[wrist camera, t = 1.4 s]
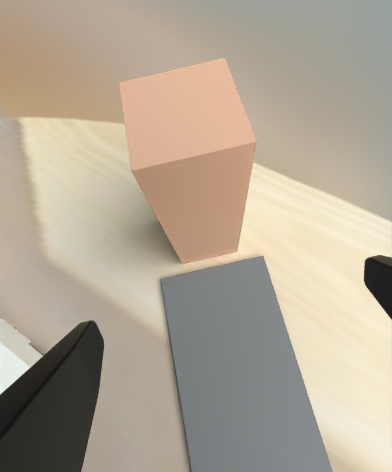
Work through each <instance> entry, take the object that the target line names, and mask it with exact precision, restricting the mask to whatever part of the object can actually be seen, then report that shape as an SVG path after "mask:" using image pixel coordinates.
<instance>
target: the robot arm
mask: <svg viewBox="0 0 392 472" xmlns="http://www.w3.org/2000/svg"><path fill="white" fill-rule="evenodd" d="M364 282H365V285H366V287H367V288H368V289H369V291H370V292H371V293H372V295H373V296H374V297H375V299H376V300H377V301H378V302H379V304H380V305H381V306H382V308H383V309H384V310H385V312H386V313H387V314H388V316H389V317H390V318H391V319H392V258H391V257H387V256H382V255H377V256H373V257H369V258H367V259H366V260H365V267H364ZM103 351H104V340H103V337H102V335H101V333H100V331H99V329H98V326H97V324H96V323H95V321H93V320H90V321H86V322H82V323H80V324H79V325H77V326H76V327H75V328H74V329H73V330H72V331H71V332H70V333H68V334H67V335H66V336H65V337H64V338H63V339H62V340H61V341H60V342H58V343H57V344H56V345H55V346H54V347H53V348H52V349H51V350H49V351H48V352H47V353H46V354H45V355H44V356H43V357H42V358H40V359H39V360H38V361H37V362H36V363H35V364H34V365H33V366H31V367H30V368H29V369H28V370H27V371H26V372H25V373H24V374H23V375H21V376H20V377H19V378H18V379H17V380H16V381H15V382H14V383H12V384H11V385H10V386H9V387H8V388H7V389H6V390H5V391H3V392H2V393H1V394H0V472H81V470H82V466H83V461H84V457H85V452H86V448H87V443H88V439H89V434H90V430H91V425H92V421H93V416H94V412H95V407H96V403H97V398H98V393H99V386H100V377H101V369H102V360H103Z"/></svg>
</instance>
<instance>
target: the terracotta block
mask: <svg viewBox="0 0 392 472" xmlns="http://www.w3.org/2000/svg"><path fill="white" fill-rule="evenodd" d="M119 84H120V92H121V99H122V106H123V113H124V120H125V127H126V135H127V142H128V149H129V156H130V163H131V170H132V173H133V174H134V176H135V178H136V180H137V182H138V184H139V185H140V187H141V189H142V191H143V193H144V195H145V197H146V198H147V200H148V202H149V204H150V206H151V208H152V209H153V211H154V213H155V215H156V217H157V219H158V220H159V222H160V224H161V226H162V228H163V230H164V232H165V233H166V235H167V237H168V239H169V241H170V243H171V244H172V246H173V248H174V250H175V252H176V254H177V256H178V257H179V259H180V261H181V263H182V264H185V263H189V262H193V261H198V260H202V259H207V258H211V257H215V256H220V255H224V254H228V253H233V252H237V250H238V244H239V239H240V233H241V227H242V221H243V216H244V210H245V204H246V198H247V193H248V187H249V181H250V175H251V170H252V164H253V158H254V152H255V147H256V139H255V137H254V134H253V132H252V129H251V126H250V124H249V121H248V118H247V115H246V113H245V110H244V107H243V105H242V102H241V99H240V97H239V94H238V91H237V89H236V86H235V84H234V81H233V78H232V76H231V73H230V70H229V68H228V65H227V63H226V60H225V58H222V59H218V60H213V61H209V62H205V63H201V64H196V65H193V66H188V67H184V68H180V69H175V70H171V71H167V72H163V73H159V74H154V75H150V76H146V77H142V78H138V79H133V80H129V81H125V82H121V83H119Z"/></svg>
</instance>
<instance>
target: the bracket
mask: <svg viewBox="0 0 392 472" xmlns="http://www.w3.org/2000/svg"><path fill="white" fill-rule="evenodd" d="M30 342H31V341H30V340H28V339H27V338H26V337H25V336H23V335H22V334H21V333H20V332H18V331H17V330H16V329H15V328H13V327H12V326H11V325H10V324H8V323H7V322H6V321H5V320H3V319H0V394H1V393H2V392H3V391H5V390H6V389H7V388H8V387H9V386H10V385H11V384H12V383H14V382H15V381H16V380H17V379H18V378H19V377H20V376H21V375H23V374H24V373H25V372H26V371H27V370H28V369H29V368H30V367H31V366H33V365H34V364H35V363H36V362H37V361H38V360H39V359H40V358H42V357H43V356H42V355H41V354H40V353H39V352H37V351H36V350H35V349H34V348H32V347H31V346H30V345H29V343H30Z"/></svg>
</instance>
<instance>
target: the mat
mask: <svg viewBox="0 0 392 472" xmlns="http://www.w3.org/2000/svg"><path fill="white" fill-rule="evenodd" d="M161 283H162V289H163V295H164V301H165V307H166V314H167V320H168V326H169V332H170V339H171V345H172V351H173V357H174V363H175V370H176V376H177V382H178V388H179V395H180V401H181V407H182V413H183V419H184V426H185V432H186V438H187V444H188V450H189V457H190V463H191V469H192V472H332V469H331V466H330V462H329V459H328V456H327V453H326V450H325V447H324V444H323V441H322V438H321V434H320V431H319V428H318V425H317V422H316V419H315V416H314V413H313V410H312V406H311V403H310V400H309V397H308V394H307V391H306V388H305V385H304V382H303V378H302V375H301V372H300V369H299V366H298V363H297V360H296V357H295V354H294V350H293V347H292V344H291V341H290V338H289V335H288V332H287V329H286V326H285V322H284V319H283V316H282V313H281V310H280V307H279V304H278V301H277V298H276V294H275V291H274V288H273V285H272V282H271V279H270V276H269V273H268V269H267V266H266V263H265V260H264V257H263V256H261V257H257V258H252V259H248V260H243V261H239V262H235V263H230V264H226V265H222V266H217V267H213V268H209V269H204V270H200V271H195V272H191V273H187V274H182V275H178V276H174V277H169V278H165V279H161Z"/></svg>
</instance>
